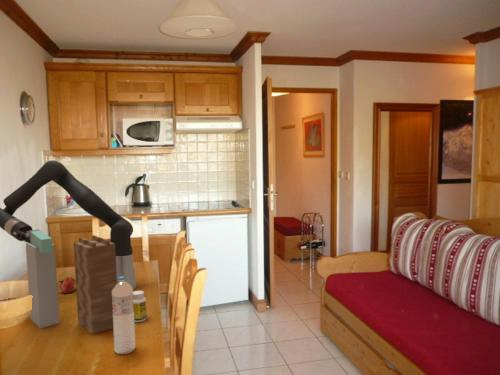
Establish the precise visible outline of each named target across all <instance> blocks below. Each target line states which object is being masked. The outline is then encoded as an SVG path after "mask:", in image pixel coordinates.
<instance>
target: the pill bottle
mask: <svg viewBox="0 0 500 375" xmlns="http://www.w3.org/2000/svg"><path fill="white" fill-rule="evenodd" d="M133 310H134V323H141V322H145V321H146V320H147V317H148V315H147V298H146V297H145V292H144V291H143V290H135V291H134V290H133Z"/></svg>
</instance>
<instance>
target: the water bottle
mask: <svg viewBox="0 0 500 375" xmlns="http://www.w3.org/2000/svg"><path fill="white" fill-rule="evenodd" d="M124 280H125V277H124V276H121V277H119V282H118V283H117V284H116V285H115V286H114V287H113V289H112V291H111V295H112V307H113V329H112V331H113V349H114V353H116V355H127V354H130V353H132V352H134V351H135V349H136V330H135V329H136V328H135V326H136V325H135V322H134V310H133V292H134V289H133V288H132V286H131V285H130V284H129V283H127V282H126V281H124Z"/></svg>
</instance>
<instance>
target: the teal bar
mask: <svg viewBox="0 0 500 375" xmlns="http://www.w3.org/2000/svg"><path fill="white" fill-rule="evenodd" d="M29 235H30V243H31V244H32V245H34V246H36V247H38V250H39V251H40V252H41V253H48V252H53V249H52V244H53V238H52V237H50V236H49V235H48V234H46V233H45V232H43V231H42V230H41V229H39V228H38V229H33V230H30V231H29Z"/></svg>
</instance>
